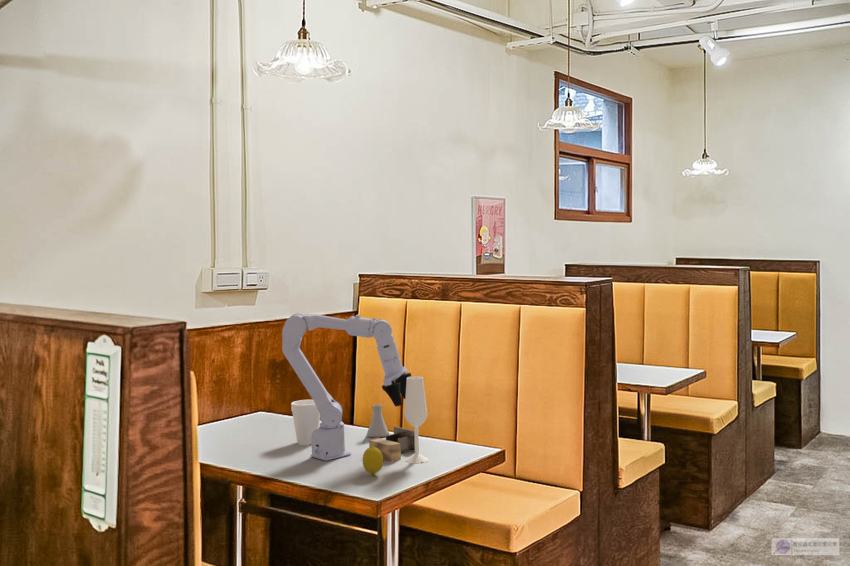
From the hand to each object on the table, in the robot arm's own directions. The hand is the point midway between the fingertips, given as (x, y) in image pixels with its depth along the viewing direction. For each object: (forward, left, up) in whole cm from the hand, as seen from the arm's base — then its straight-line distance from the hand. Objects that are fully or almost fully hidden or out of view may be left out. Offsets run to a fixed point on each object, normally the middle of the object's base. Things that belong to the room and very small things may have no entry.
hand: (403, 401), depth 234 cm
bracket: (0, +3, -15) cm, 16 cm away
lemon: (-22, -12, -15) cm, 29 cm away
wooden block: (-8, 0, -15) cm, 17 cm away
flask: (+8, +22, -15) cm, 28 cm away
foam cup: (-13, +32, -15) cm, 38 cm away
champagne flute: (-4, -10, -15) cm, 19 cm away
